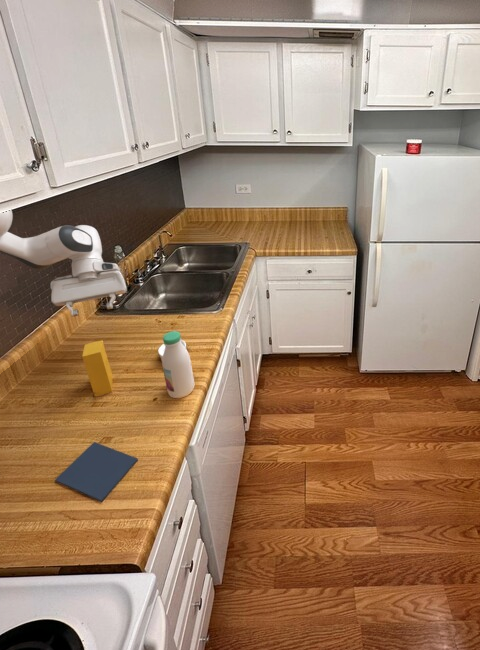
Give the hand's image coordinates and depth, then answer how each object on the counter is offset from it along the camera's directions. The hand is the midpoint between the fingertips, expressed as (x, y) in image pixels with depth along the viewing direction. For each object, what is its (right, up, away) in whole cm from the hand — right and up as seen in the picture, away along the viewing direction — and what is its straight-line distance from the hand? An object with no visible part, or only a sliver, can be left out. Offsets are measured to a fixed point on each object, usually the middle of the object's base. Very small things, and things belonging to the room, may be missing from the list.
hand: (92, 312), depth 105 cm
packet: (+5, -23, -3) cm, 24 cm away
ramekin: (+22, -18, +10) cm, 30 cm away
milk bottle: (+29, -23, -3) cm, 38 cm away
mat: (+19, -32, -26) cm, 46 cm away
